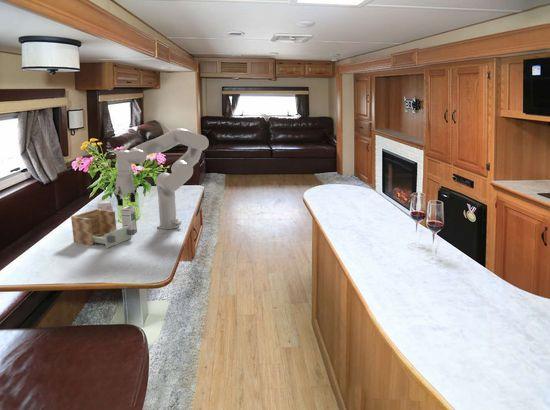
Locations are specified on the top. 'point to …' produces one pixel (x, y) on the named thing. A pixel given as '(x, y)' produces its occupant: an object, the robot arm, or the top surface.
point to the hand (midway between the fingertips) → (126, 203)
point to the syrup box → (129, 217)
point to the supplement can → (105, 205)
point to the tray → (115, 236)
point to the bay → (92, 225)
